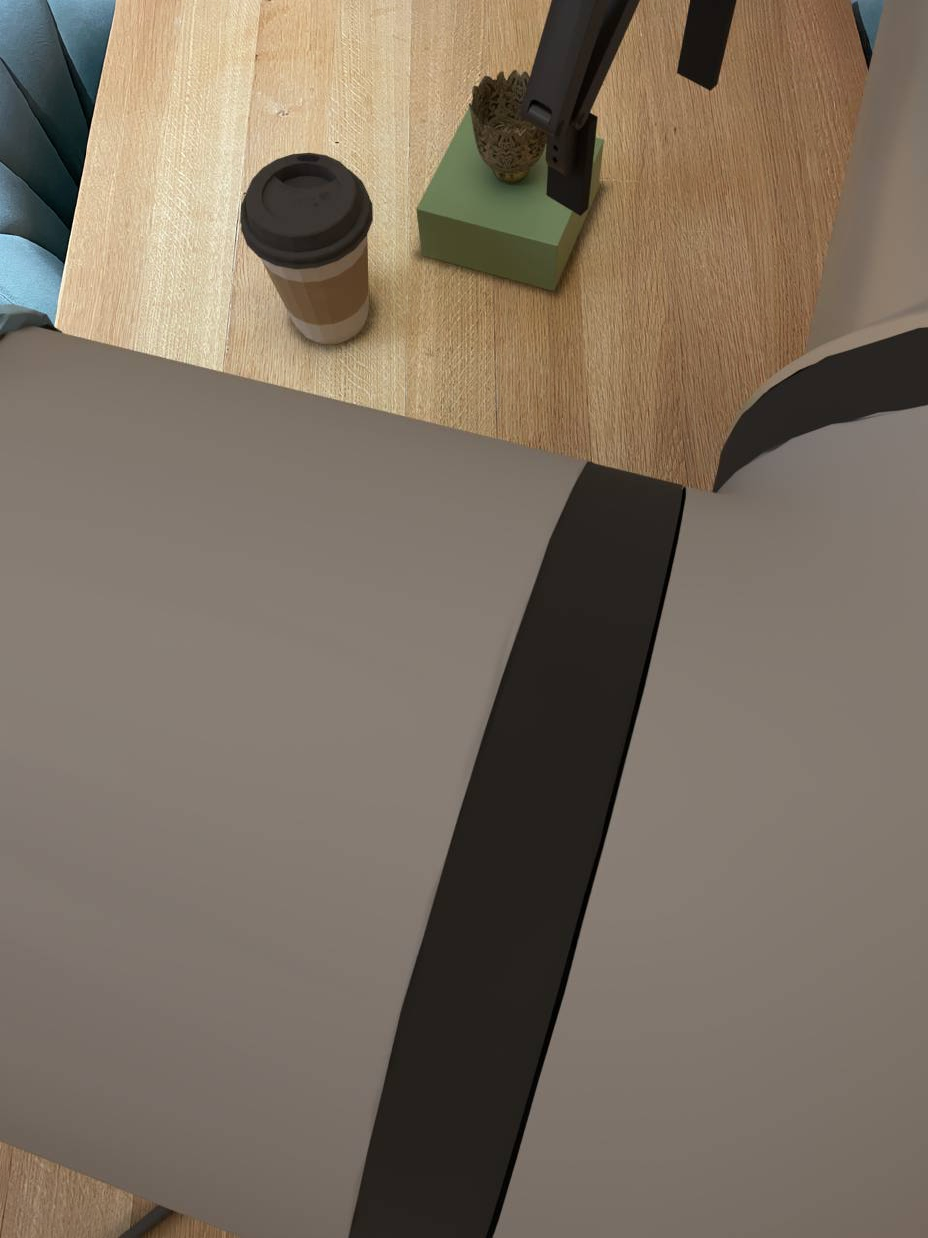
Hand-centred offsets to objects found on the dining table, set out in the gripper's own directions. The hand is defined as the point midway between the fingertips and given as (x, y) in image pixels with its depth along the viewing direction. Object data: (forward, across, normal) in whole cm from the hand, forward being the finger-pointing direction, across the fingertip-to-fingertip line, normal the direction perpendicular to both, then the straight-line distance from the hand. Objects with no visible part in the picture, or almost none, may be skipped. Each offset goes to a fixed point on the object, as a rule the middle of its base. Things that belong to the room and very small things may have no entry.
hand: (633, 139), depth 60 cm
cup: (+23, -12, -20) cm, 33 cm away
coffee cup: (+29, +8, -26) cm, 40 cm away
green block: (+29, -12, -20) cm, 37 cm away
